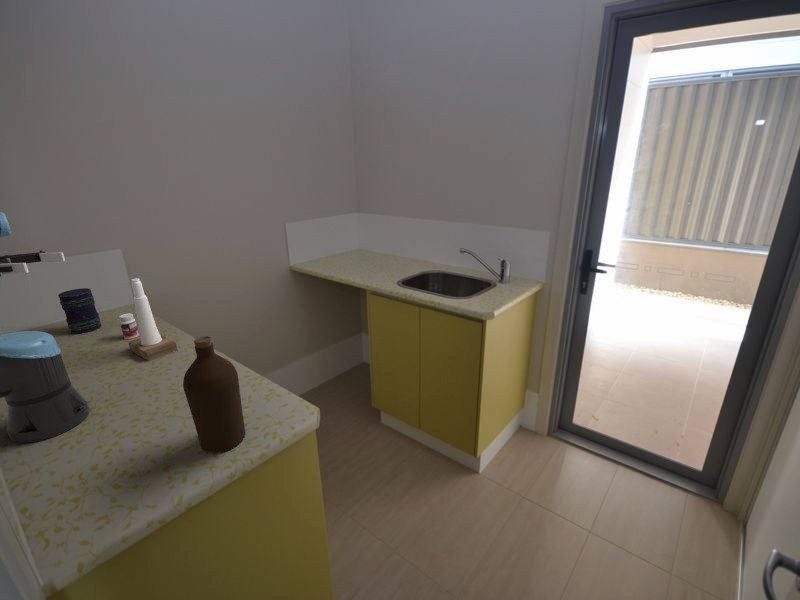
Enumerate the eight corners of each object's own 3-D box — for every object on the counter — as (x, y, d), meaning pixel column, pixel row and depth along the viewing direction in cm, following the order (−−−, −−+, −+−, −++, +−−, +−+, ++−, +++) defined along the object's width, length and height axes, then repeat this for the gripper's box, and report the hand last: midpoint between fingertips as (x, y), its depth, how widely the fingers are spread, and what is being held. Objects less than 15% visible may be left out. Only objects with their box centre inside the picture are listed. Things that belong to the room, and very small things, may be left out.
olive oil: (241, 453, 85) (220, 349, 76) (189, 457, 84) (163, 352, 75) (253, 422, 94) (236, 327, 86) (207, 426, 94) (186, 330, 85)
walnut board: (177, 350, 132) (175, 342, 131) (148, 361, 125) (146, 352, 124) (158, 340, 140) (156, 332, 139) (130, 350, 133) (128, 342, 132)
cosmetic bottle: (139, 341, 132) (122, 279, 125) (160, 336, 136) (144, 275, 128) (142, 347, 128) (125, 283, 120) (163, 342, 131) (147, 279, 124)
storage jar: (101, 321, 158) (90, 286, 153) (103, 329, 151) (92, 292, 146) (69, 328, 152) (57, 292, 147) (70, 336, 145) (57, 298, 140)
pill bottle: (120, 338, 142) (114, 317, 139) (132, 333, 147) (126, 312, 144) (130, 340, 141) (124, 318, 138) (142, 334, 145) (136, 313, 142)
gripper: (11, 266, 127) (79, 264, 128) (-71, 290, 103) (13, 287, 104) (3, 243, 124) (72, 241, 125) (-84, 262, 101) (2, 259, 102)
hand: (45, 262), depth 115 cm, fingers open, 13 cm apart
